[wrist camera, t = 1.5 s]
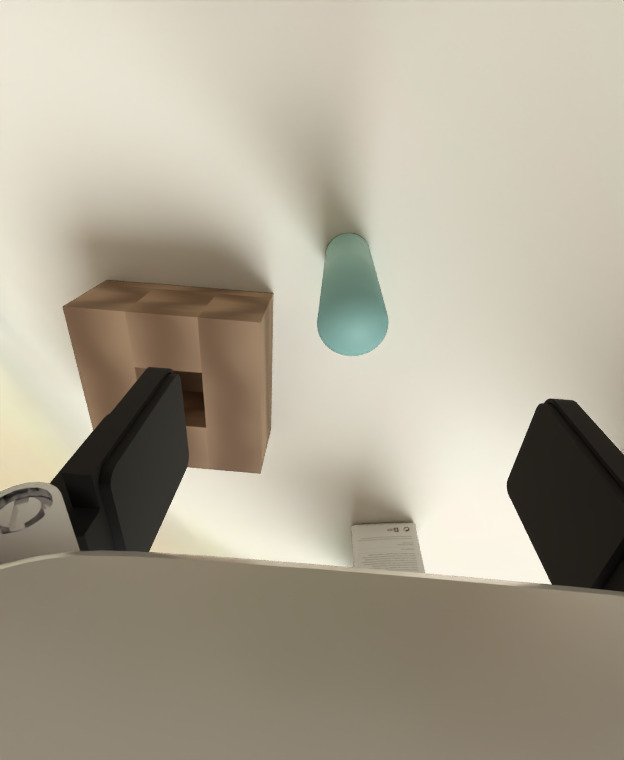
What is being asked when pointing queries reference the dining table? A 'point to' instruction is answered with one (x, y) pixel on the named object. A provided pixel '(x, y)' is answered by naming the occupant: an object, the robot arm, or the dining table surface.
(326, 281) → the peg
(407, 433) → the dining table surface
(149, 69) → the dining table surface
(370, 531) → the skincare box
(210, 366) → the socket block
